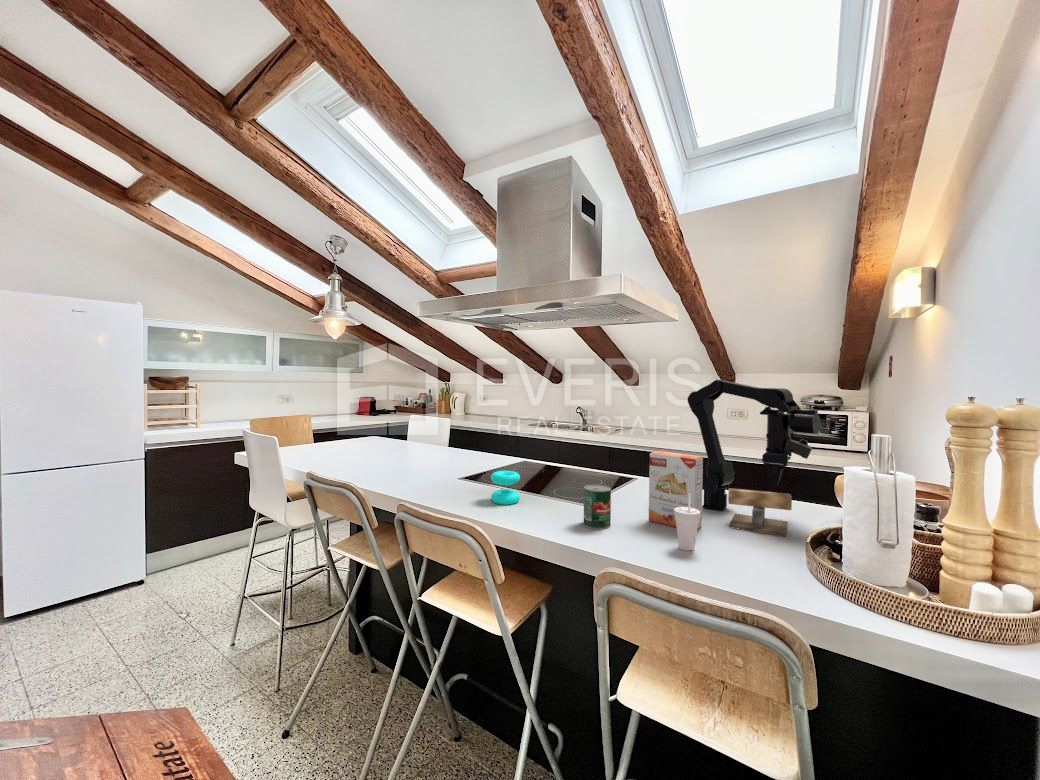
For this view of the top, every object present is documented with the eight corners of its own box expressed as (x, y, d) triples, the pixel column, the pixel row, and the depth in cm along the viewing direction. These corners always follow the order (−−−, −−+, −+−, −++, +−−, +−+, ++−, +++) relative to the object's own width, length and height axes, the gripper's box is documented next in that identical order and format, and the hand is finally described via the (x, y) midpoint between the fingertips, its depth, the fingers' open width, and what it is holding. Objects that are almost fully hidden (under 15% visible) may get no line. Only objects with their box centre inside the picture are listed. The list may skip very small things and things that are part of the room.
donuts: (492, 469, 159) (520, 469, 159) (492, 497, 159) (519, 497, 159) (490, 476, 149) (519, 476, 149) (489, 505, 149) (519, 505, 149)
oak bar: (728, 503, 131) (729, 490, 131) (728, 501, 134) (728, 488, 134) (791, 510, 125) (791, 496, 125) (789, 507, 128) (789, 493, 128)
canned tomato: (590, 518, 136) (591, 483, 136) (615, 523, 131) (615, 486, 131) (578, 525, 129) (579, 488, 129) (603, 531, 125) (604, 492, 125)
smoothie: (697, 554, 109) (698, 498, 108) (670, 549, 112) (671, 494, 112) (702, 546, 114) (703, 492, 114) (676, 541, 117) (677, 488, 117)
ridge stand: (729, 527, 129) (729, 506, 129) (734, 516, 139) (735, 497, 139) (785, 537, 121) (786, 515, 121) (786, 524, 131) (787, 504, 131)
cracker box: (647, 521, 134) (648, 452, 133) (656, 516, 138) (657, 449, 137) (694, 532, 124) (695, 458, 124) (702, 527, 129) (703, 455, 128)
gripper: (809, 436, 120) (808, 493, 120) (811, 429, 135) (810, 480, 135) (762, 433, 126) (761, 487, 126) (769, 427, 141) (768, 475, 142)
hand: (777, 482), depth 132 cm, fingers open, 9 cm apart
